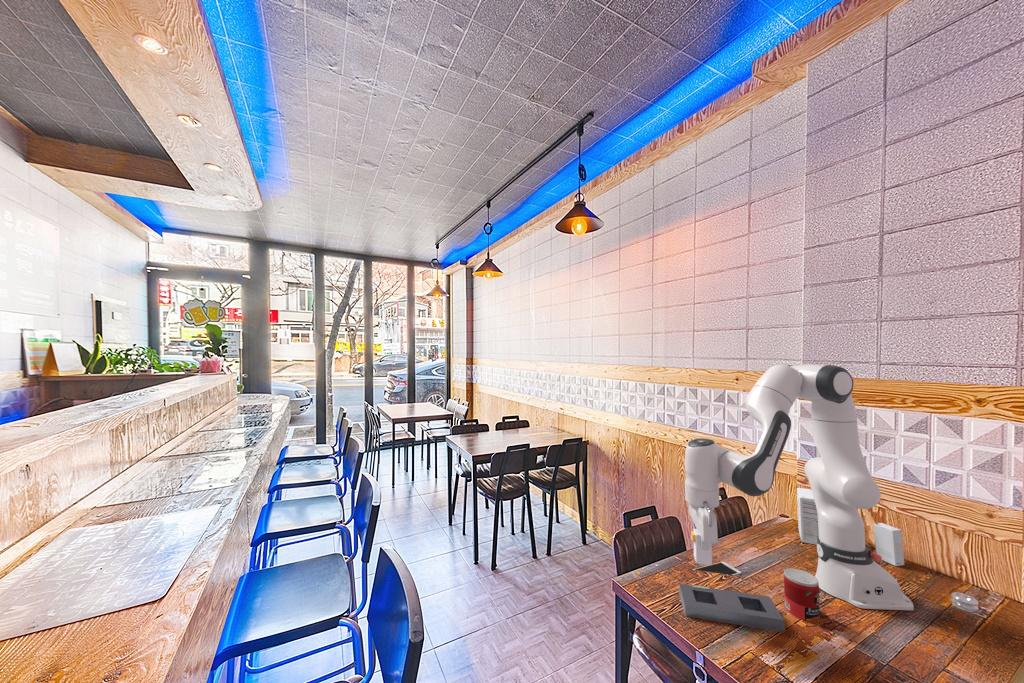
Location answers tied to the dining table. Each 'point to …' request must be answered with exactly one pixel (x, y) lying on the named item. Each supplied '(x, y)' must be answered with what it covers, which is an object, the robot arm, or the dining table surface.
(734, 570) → the smartphone
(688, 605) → the panel
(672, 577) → the dining table surface
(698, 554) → the plug
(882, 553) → the skincare box
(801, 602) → the canned food
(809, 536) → the supplement box
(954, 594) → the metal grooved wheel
